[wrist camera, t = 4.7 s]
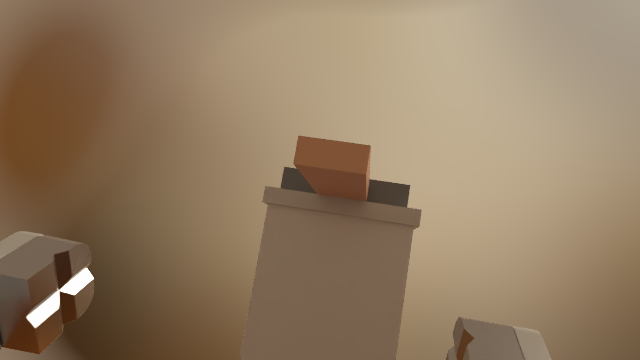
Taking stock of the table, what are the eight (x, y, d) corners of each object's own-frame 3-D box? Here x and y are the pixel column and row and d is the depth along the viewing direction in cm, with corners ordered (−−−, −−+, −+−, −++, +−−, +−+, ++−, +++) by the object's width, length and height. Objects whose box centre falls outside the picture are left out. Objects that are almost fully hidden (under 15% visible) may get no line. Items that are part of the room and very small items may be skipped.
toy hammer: (429, 183, 18) (434, 146, 18) (235, 155, 19) (241, 121, 19) (397, 219, 35) (400, 200, 36) (298, 204, 36) (301, 185, 37)
